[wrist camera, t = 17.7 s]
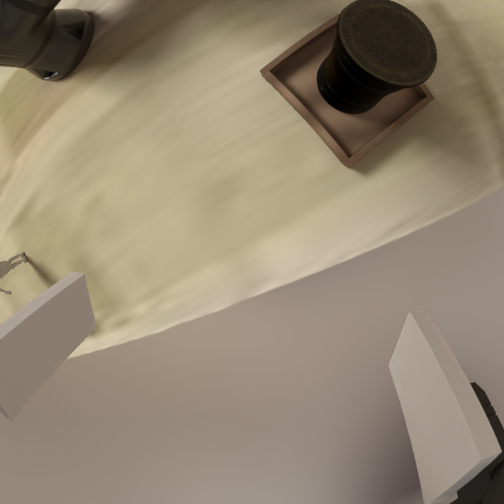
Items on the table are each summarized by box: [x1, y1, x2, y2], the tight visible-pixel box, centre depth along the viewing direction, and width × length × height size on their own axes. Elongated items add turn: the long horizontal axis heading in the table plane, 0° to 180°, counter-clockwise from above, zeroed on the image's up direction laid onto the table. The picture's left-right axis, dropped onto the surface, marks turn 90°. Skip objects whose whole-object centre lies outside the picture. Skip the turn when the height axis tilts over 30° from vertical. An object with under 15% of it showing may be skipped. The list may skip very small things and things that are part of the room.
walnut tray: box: [260, 14, 434, 167], centre depth 31 cm, size 17×17×3 cm
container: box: [316, 0, 437, 114], centre depth 23 cm, size 9×9×18 cm
